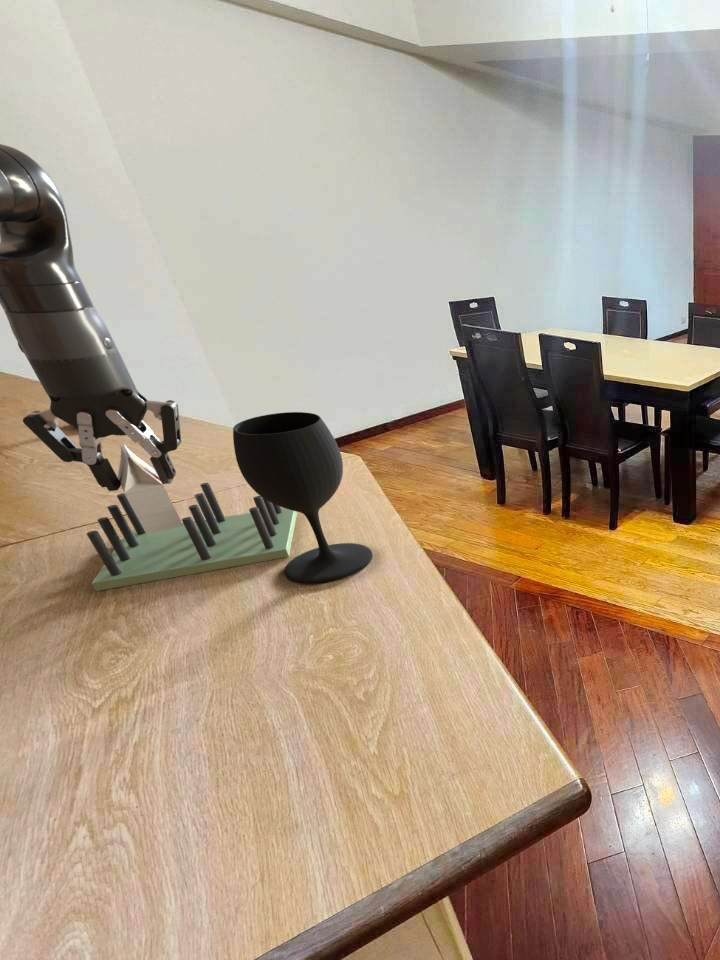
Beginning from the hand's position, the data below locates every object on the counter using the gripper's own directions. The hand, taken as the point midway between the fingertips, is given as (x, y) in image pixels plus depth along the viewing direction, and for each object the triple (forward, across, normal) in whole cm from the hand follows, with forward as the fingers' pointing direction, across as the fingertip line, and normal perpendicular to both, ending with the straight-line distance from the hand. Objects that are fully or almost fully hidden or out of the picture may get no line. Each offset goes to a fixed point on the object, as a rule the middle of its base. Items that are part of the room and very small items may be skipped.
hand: (141, 484), depth 77 cm
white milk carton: (+6, 0, 0) cm, 6 cm away
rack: (+10, -4, 0) cm, 11 cm away
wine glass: (+10, -18, +12) cm, 24 cm away
